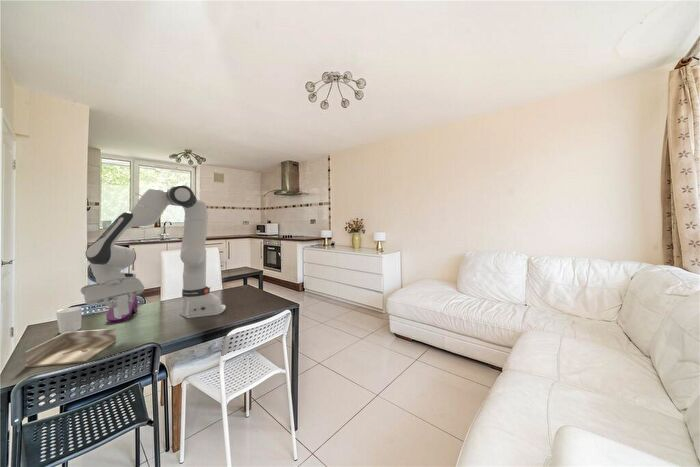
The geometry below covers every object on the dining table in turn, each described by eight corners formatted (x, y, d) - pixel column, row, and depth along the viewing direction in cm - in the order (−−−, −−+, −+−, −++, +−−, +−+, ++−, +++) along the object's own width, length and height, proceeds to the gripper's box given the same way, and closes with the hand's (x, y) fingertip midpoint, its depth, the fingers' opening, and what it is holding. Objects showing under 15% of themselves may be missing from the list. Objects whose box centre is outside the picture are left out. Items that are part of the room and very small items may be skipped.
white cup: (53, 335, 112) (52, 314, 111) (63, 328, 119) (62, 308, 118) (77, 332, 115) (76, 311, 115) (85, 325, 122) (84, 305, 122)
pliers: (96, 306, 145) (130, 301, 153) (96, 308, 145) (130, 304, 153) (90, 311, 137) (126, 306, 145) (90, 314, 137) (126, 309, 145)
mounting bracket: (130, 329, 132) (138, 305, 145) (128, 318, 128) (136, 294, 142) (106, 333, 127) (117, 308, 141) (103, 321, 124) (114, 296, 137)
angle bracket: (114, 316, 111) (112, 297, 111) (128, 313, 116) (126, 294, 115) (119, 319, 109) (117, 299, 108) (133, 315, 113) (131, 295, 113)
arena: (116, 341, 108) (115, 328, 107) (85, 362, 92) (84, 347, 92) (66, 344, 104) (65, 331, 104) (25, 367, 88) (24, 352, 88)
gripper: (80, 282, 106) (91, 308, 102) (139, 272, 124) (149, 294, 120) (77, 291, 109) (88, 317, 105) (135, 280, 127) (145, 302, 123)
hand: (121, 305), depth 113 cm, fingers closed on angle bracket, 5 cm apart
